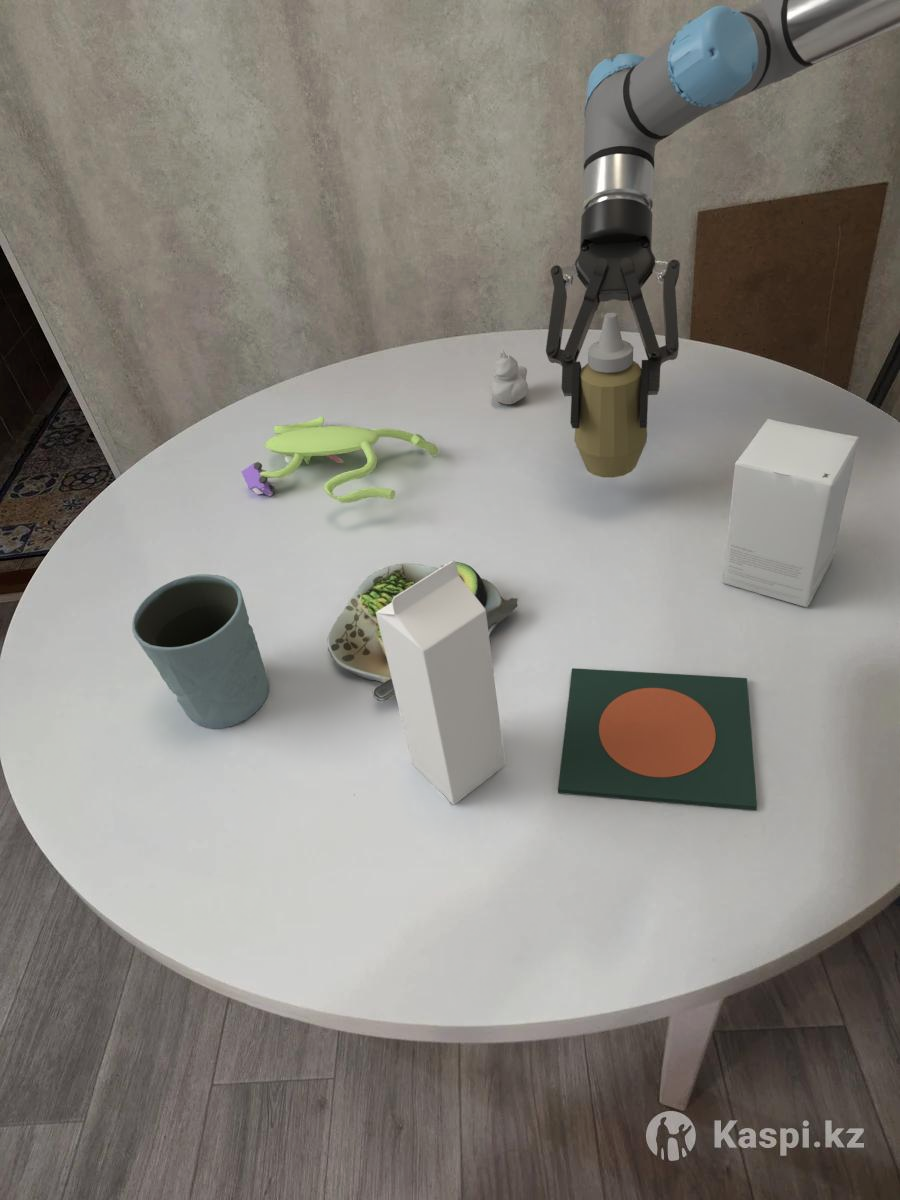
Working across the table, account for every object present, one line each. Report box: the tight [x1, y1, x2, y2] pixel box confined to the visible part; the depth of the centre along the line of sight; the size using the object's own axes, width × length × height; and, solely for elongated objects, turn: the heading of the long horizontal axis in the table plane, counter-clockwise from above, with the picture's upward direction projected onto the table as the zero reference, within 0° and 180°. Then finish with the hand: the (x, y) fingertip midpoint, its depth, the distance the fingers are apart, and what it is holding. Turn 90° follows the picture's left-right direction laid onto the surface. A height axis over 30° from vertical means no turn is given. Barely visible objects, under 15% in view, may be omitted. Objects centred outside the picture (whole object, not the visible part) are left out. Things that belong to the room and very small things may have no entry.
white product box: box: [722, 418, 860, 608], centre depth 85 cm, size 9×9×15 cm
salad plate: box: [326, 561, 519, 702], centre depth 87 cm, size 19×18×5 cm
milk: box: [376, 560, 506, 805], centre depth 69 cm, size 6×6×22 cm
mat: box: [557, 667, 758, 811], centre depth 76 cm, size 16×14×1 cm
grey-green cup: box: [131, 573, 270, 730], centre depth 82 cm, size 10×10×12 cm
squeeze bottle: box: [573, 312, 648, 479], centre depth 93 cm, size 8×8×18 cm
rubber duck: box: [490, 349, 529, 405], centre depth 121 cm, size 5×7×8 cm
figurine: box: [240, 414, 439, 504], centre depth 112 cm, size 18×27×6 cm
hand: (608, 424), depth 92 cm, fingers closed on squeeze bottle, 6 cm apart
